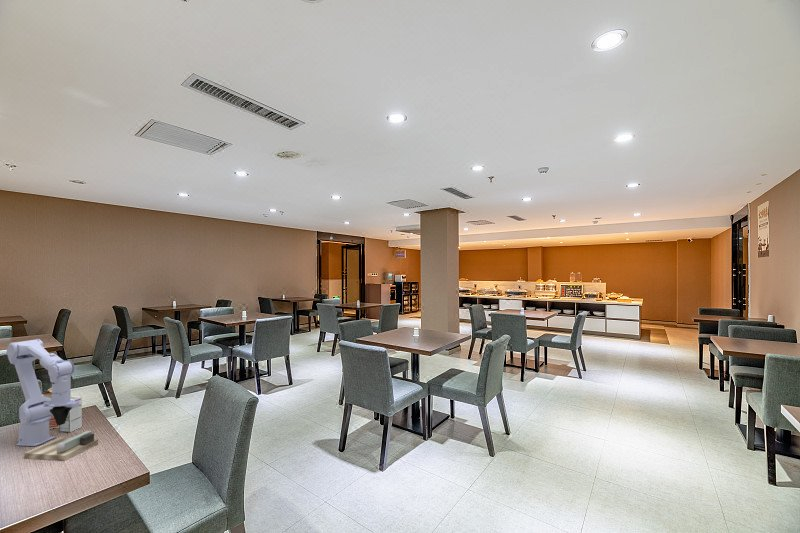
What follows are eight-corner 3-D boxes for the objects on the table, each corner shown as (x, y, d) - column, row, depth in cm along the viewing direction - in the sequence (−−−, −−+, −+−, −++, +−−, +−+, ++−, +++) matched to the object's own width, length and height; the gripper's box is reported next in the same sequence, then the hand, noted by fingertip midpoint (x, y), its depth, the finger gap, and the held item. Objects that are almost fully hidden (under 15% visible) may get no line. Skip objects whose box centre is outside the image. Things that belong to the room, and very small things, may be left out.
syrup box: (82, 427, 168) (82, 396, 168) (69, 432, 162) (69, 400, 162) (71, 426, 168) (71, 395, 168) (58, 432, 162) (58, 400, 162)
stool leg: (60, 453, 139) (60, 444, 139) (54, 453, 139) (54, 444, 139) (91, 438, 151) (91, 430, 151) (86, 437, 152) (86, 430, 152)
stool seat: (23, 458, 140) (23, 445, 140) (60, 441, 153) (60, 430, 153) (64, 460, 138) (64, 447, 138) (98, 443, 151) (98, 432, 151)
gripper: (35, 394, 146) (34, 427, 145) (66, 395, 144) (66, 429, 144) (53, 388, 153) (53, 420, 153) (84, 389, 151) (83, 421, 151)
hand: (61, 424), depth 149 cm, fingers closed
